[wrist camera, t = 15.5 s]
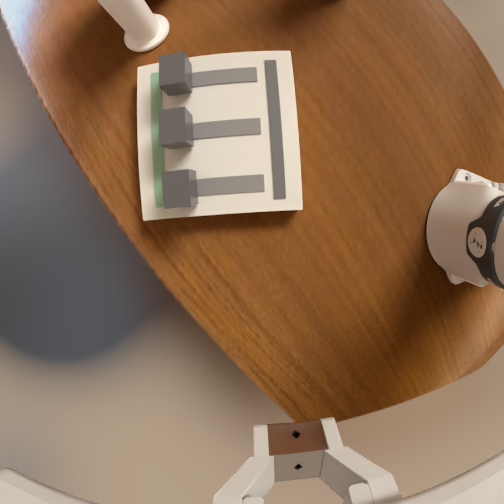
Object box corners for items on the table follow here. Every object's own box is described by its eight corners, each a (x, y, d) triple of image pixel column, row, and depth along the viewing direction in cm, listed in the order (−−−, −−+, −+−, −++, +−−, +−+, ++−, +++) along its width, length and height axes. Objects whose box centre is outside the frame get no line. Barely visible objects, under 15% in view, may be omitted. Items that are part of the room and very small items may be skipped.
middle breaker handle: (192, 115, 33) (184, 106, 28) (193, 146, 33) (186, 141, 29) (168, 118, 33) (158, 110, 28) (169, 149, 33) (159, 145, 29)
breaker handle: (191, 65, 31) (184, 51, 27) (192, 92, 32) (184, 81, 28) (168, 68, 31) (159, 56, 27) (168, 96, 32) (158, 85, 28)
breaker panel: (287, 59, 34) (290, 50, 31) (298, 207, 39) (302, 209, 35) (145, 74, 34) (137, 66, 31) (150, 218, 39) (142, 221, 36)
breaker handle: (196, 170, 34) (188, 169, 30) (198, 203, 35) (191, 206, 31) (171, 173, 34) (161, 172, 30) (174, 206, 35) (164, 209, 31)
